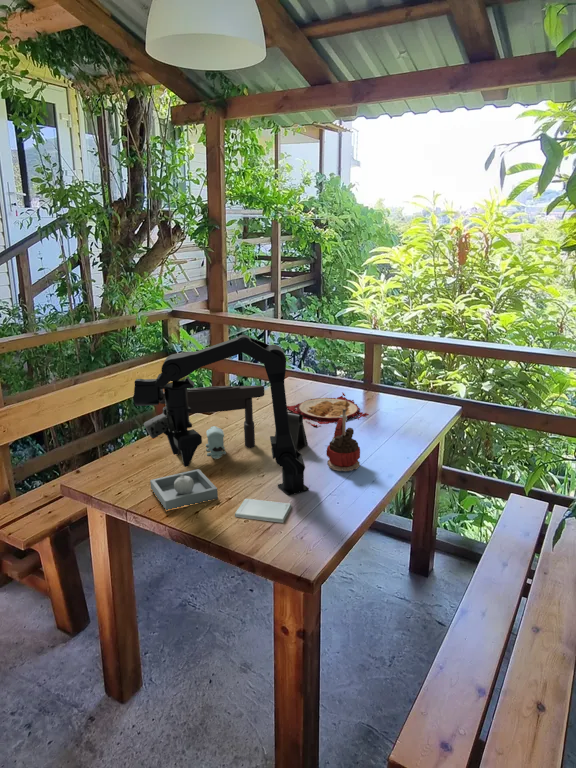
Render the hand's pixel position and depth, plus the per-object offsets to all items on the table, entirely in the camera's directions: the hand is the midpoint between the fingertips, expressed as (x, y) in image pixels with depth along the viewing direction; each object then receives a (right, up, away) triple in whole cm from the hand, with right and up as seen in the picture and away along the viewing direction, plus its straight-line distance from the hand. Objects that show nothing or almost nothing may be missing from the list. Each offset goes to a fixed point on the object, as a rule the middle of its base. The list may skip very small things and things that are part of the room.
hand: (180, 460), depth 145 cm
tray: (0, -10, +3) cm, 10 cm away
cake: (+45, -5, +19) cm, 49 cm away
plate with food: (+44, +9, +67) cm, 81 cm away
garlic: (0, -9, +3) cm, 10 cm away
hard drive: (+22, -13, -7) cm, 26 cm away
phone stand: (+30, -1, +33) cm, 44 cm away
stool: (+5, -1, +33) cm, 33 cm away
